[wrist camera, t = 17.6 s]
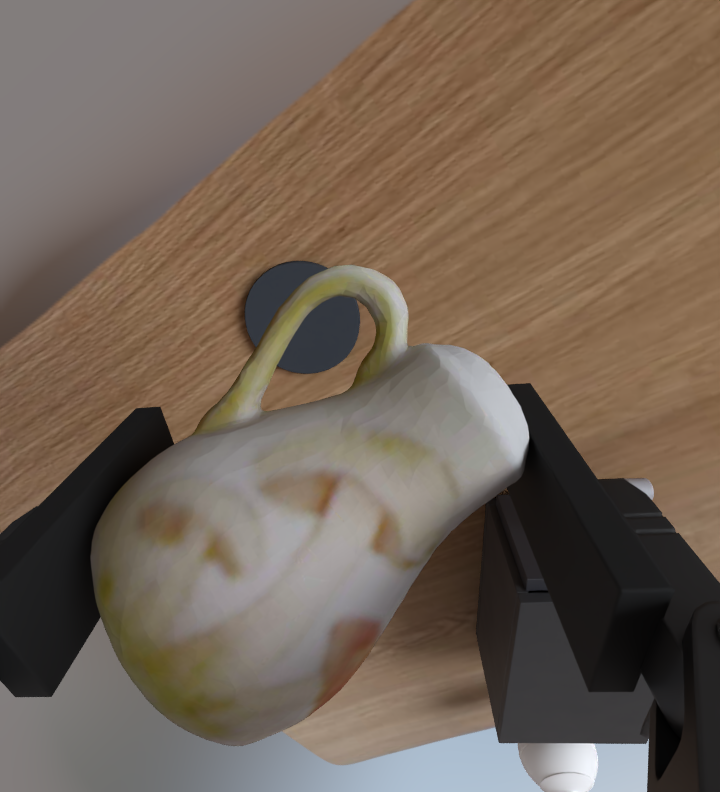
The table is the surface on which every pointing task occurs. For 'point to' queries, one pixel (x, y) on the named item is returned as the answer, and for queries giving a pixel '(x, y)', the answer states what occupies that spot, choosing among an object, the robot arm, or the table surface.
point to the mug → (297, 521)
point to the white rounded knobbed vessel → (560, 765)
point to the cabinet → (541, 663)
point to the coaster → (319, 331)
